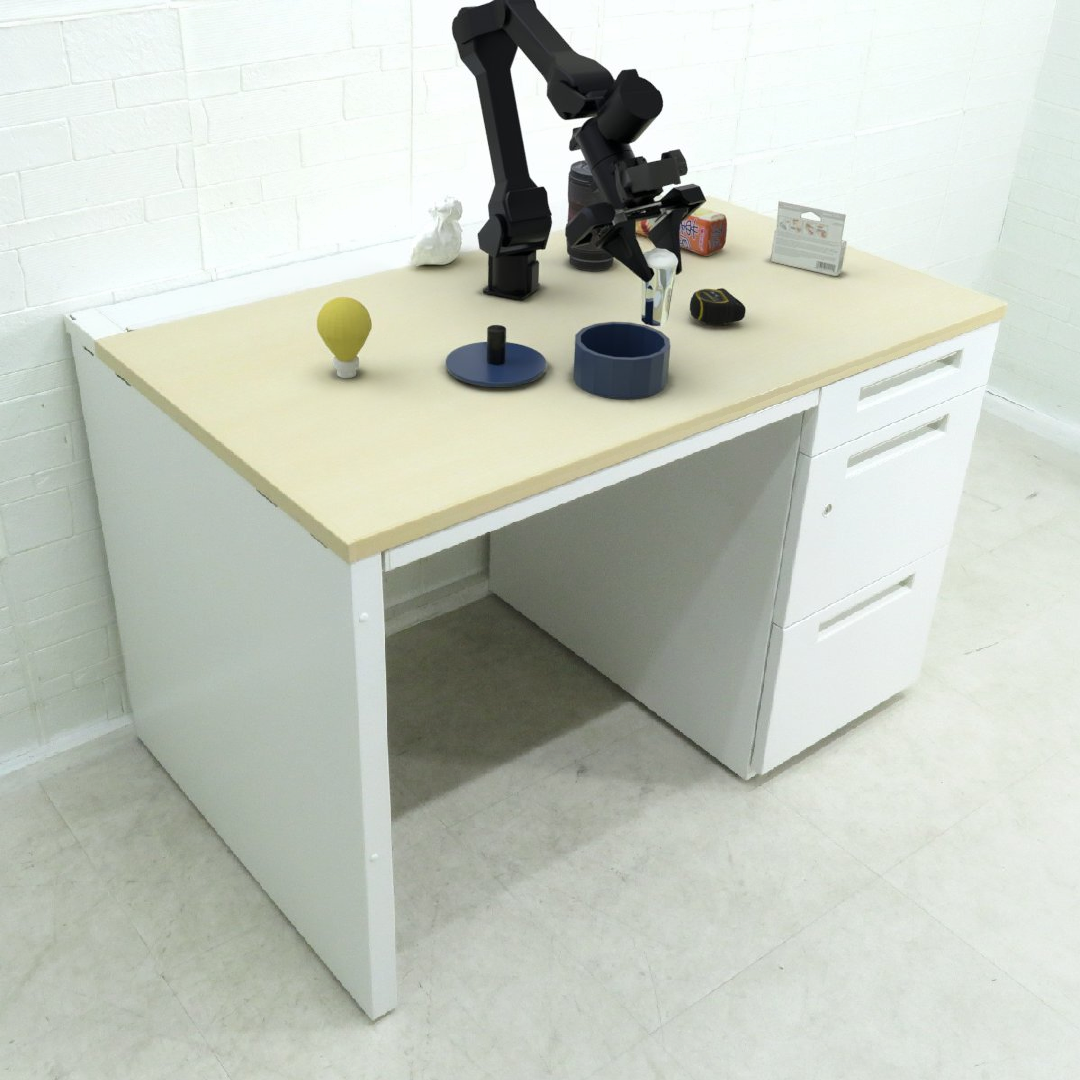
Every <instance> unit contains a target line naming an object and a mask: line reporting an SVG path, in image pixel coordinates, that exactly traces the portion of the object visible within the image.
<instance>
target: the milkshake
mask: <svg viewBox="0 0 1080 1080" xmlns="http://www.w3.org/2000/svg"><path fill="white" fill-rule="evenodd" d="M643 254H644V257H645V259H646V261H647V264H648V266H649V269H650V272H651V275H652V280H650V281H649V282H647V283H646V282H644V281H643V280H642V279H641V278H640V281H641V282H640V283H641V286H640V288H641V289H640V291H641V292H640V293H641V300H640V301H641V302H640V304H641V305H640V306H641V307H640V309H641V313H640V314H641V317H640V319H641V322H642V323H643V324H644V325H646V326H650V327H661V326H665V325H667V322H668V319H669V314H670V307H671V302H672V296H673V291H674V284H675V280H676V276H677V275H676V270H677V265H678V259H677V257H676V256H675V254H674V253H672V252H670V251H668V250H667V249H660V248H656V247H655V248H653V249H650V250H647V251H645V252H643Z"/></svg>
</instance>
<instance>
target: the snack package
mask: <svg viewBox="0 0 1080 1080" xmlns="http://www.w3.org/2000/svg"><path fill="white" fill-rule="evenodd" d="M664 196H665V195H663V194H660V195H659V196H656V197H655V198H654V200H655V201H659V200H661V199H662V198H663V197H664ZM644 212H645V211H644ZM642 213H643V212H642ZM651 229H652V226H651V224H650V222H649V219H647V220H643V221H638V222H636V234H639V235H642V236H646V237H648V235H647V233H648V232H649V231H650V230H651ZM727 232H728V221H727V216H726V214H724V213H723V212H718V211H715V210H711V209H708V208H704V207H702V206H700V207H699V208H698V209H697V210H696V211H695V212H693V213H692V214H691V215H690V216H689V217H688V218H687V219H685V220H684V221H682V222H681V224H680V248H682V249H685V250H687V251H690V252H693V253H696V254H698V255H700V256H703V257H709V256H712V255H713V254H716V253H717V252H720V251H721V250H722V249H723V248H724V246H725V245H726V241H727Z"/></svg>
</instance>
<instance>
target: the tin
mask: <svg viewBox="0 0 1080 1080" xmlns="http://www.w3.org/2000/svg"><path fill="white" fill-rule="evenodd" d="M573 354H574V355H573V370H572V371H573V373H572V374H573V375H572V376H573V381H574V383H575V384H576V385H577V387H579V389H582V390H583V391H585V392H587V393H589V394H592V395H595V396H598V397H602V398H608V399H615V400H636V399H643V398H648V397H651V396H655V395H657V394H659V393H660V392H661V391H663V390H664V389H665V387H666V386H667V383H668V375H669V365H670V354H671V341H670V338H669V337H668V336H667V335H666V334H665V333H664V332H662V331H661V330H659V329H656V328H654V327H652V326H650V325H647V324H641V323H636V322H630V321H607V322H599V323H598V322H597V323H593V324H591V325H588V326H585V327H583V328H581V329H580V330H578V332H577V333H575V337H574V353H573Z"/></svg>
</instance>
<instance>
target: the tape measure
mask: <svg viewBox="0 0 1080 1080" xmlns="http://www.w3.org/2000/svg"><path fill="white" fill-rule="evenodd" d="M746 310H747V309H746V306H745V305H744V303H742V301H741V300H739V299H738V298H736V296H734V295H733V294H732V293H730V292H729V291H728V290H727V289H725V288H723V287H721V288H716V289H715V288H702V289H699V290H696V291H695V292H693V294H692V296H691V297H690V302H689V311H690V315H691V317H692V318H693V319H695V320H696V321H698V322H700V323H702V324H706V325H711V326H725V325H729V324H734V323H738V322H740V321H743V320H744V318H746V317H745V316H746V312H747V311H746Z"/></svg>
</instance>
